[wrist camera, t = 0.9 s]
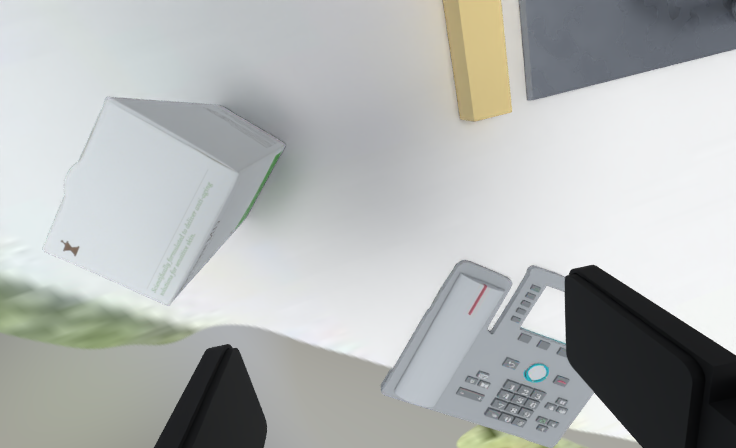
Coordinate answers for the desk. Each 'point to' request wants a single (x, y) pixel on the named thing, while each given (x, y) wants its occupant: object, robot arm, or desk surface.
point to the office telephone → (490, 358)
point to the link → (478, 57)
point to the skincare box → (159, 192)
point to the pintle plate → (617, 38)
